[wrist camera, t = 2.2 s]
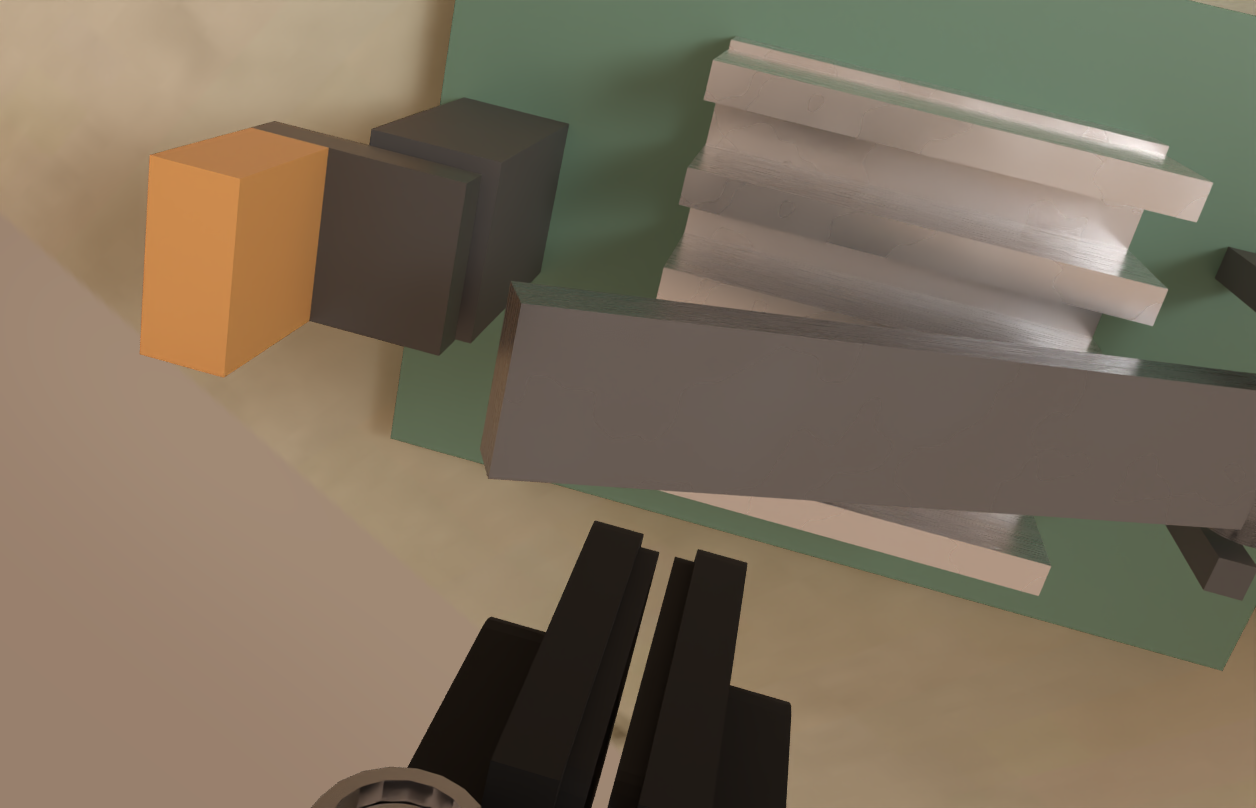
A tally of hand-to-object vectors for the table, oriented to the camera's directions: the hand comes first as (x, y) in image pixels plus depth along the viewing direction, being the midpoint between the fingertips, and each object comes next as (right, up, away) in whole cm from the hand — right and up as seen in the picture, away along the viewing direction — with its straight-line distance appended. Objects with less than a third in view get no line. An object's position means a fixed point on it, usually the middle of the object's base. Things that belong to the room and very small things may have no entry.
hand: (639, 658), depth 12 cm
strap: (+6, +3, +9) cm, 11 cm away
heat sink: (+6, +6, +17) cm, 19 cm away
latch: (-6, +6, +11) cm, 14 cm away
